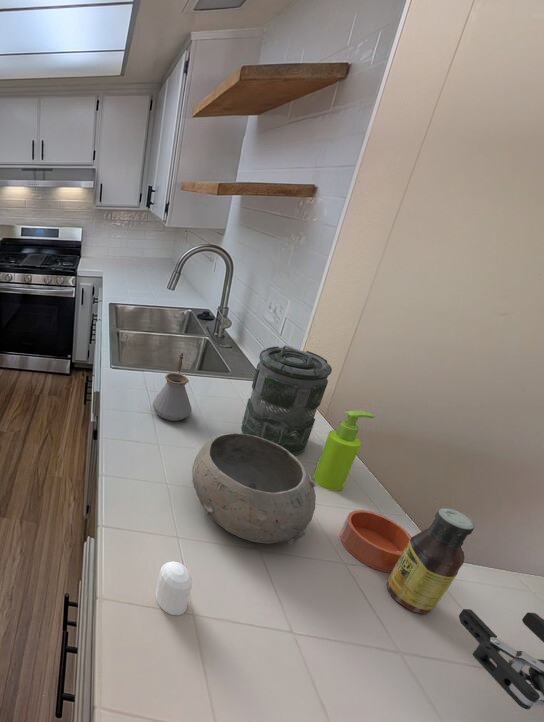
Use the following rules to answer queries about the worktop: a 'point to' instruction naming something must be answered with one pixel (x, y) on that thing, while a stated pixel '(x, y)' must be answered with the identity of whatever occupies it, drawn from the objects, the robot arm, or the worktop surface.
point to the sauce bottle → (430, 562)
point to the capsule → (173, 588)
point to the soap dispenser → (339, 452)
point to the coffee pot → (173, 397)
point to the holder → (374, 539)
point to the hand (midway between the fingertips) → (495, 614)
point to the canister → (286, 396)
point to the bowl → (254, 488)
